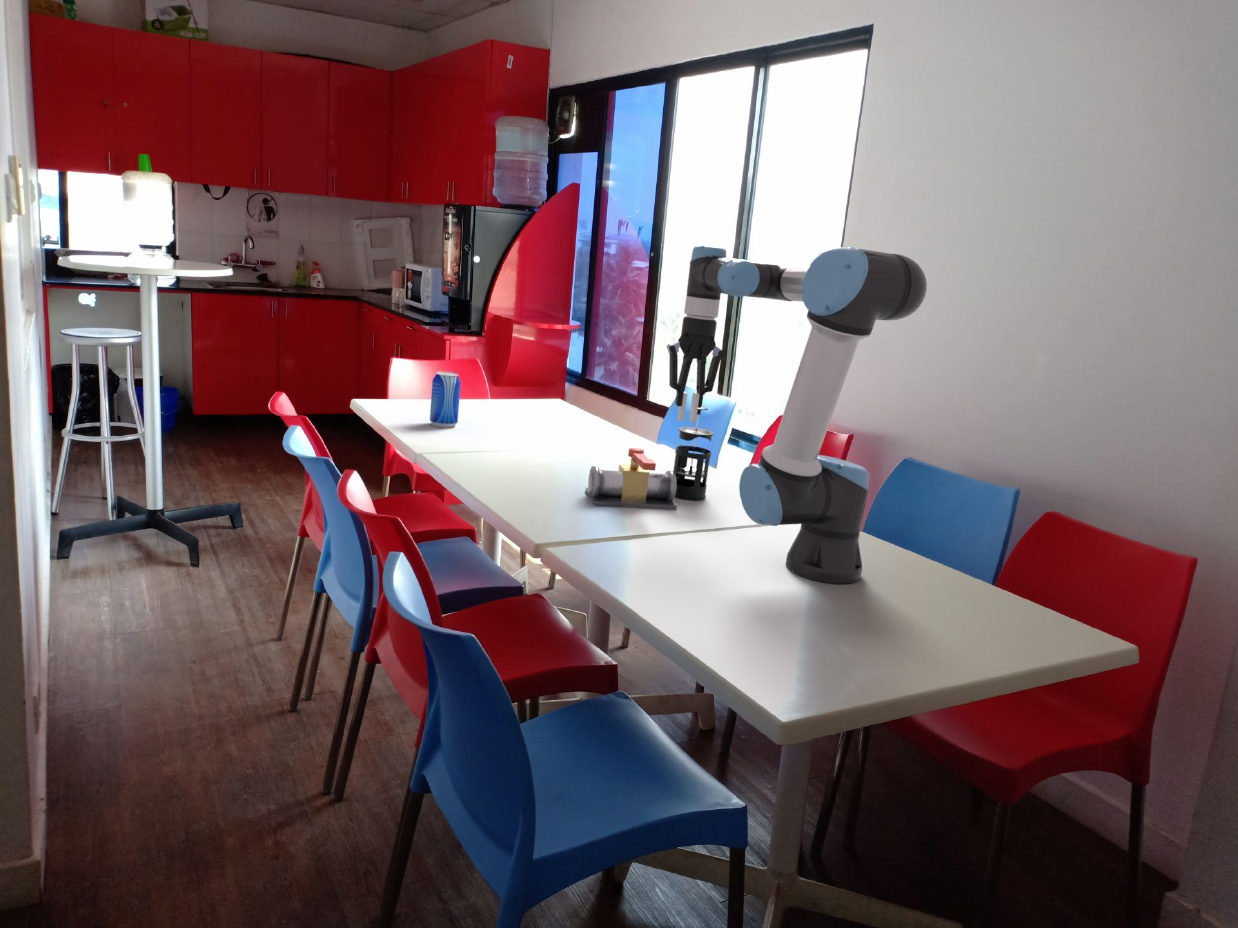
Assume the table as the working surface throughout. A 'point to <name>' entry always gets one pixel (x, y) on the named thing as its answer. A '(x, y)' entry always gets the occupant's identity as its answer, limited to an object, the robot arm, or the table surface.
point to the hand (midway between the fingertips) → (686, 420)
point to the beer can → (445, 399)
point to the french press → (690, 487)
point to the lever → (641, 459)
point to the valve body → (632, 487)
